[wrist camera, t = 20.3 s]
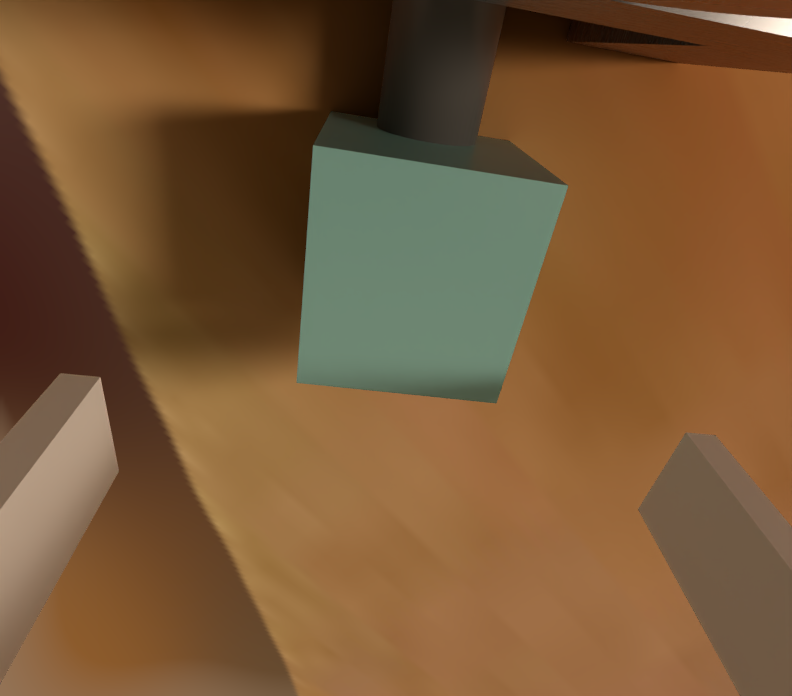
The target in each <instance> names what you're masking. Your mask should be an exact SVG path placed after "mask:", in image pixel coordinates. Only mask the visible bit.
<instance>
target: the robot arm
mask: <svg viewBox="0 0 792 696" xmlns="http://www.w3.org/2000/svg"><path fill="white" fill-rule="evenodd" d="M118 472H119V470H118V465H117V459H116V454H115V449H114V444H113V440H112V434H111V429H110V424H109V419H108V414H107V409H106V403H105V398H104V393H103V389H102V383H101V378H100V377H94V376H83V375H72V374H63V373H61V374H59V376H58V377H57V378H56V379H55V380H54V381H53V382H52V384H51V385H50V386H49V387H48V388H47V389H46V390H45V392H44V393H43V394H42V395H41V396H40V397H39V398H38V400H37V401H36V402H35V403H34V404H33V405H32V406H31V408H30V409H29V410H28V411H27V412H26V413H25V414H24V416H23V417H22V418H21V419H20V420H19V421H18V422H17V424H16V425H15V426H14V427H13V428H12V429H11V430H10V432H9V433H8V434H7V435H6V436H5V437H4V438H3V440H2V441H1V442H0V684H1V682H2V680H3V678H4V676H5V675H6V673H7V671H8V669H9V667H10V666H11V664H12V662H13V660H14V658H15V657H16V655H17V653H18V651H19V649H20V648H21V646H22V644H23V642H24V640H25V639H26V637H27V635H28V633H29V631H30V630H31V628H32V626H33V624H34V622H35V621H36V619H37V617H38V615H39V614H40V612H41V610H42V608H43V606H44V605H45V603H46V601H47V599H48V597H49V596H50V594H51V592H52V590H53V588H54V587H55V584H56V583H57V581H58V579H59V577H60V576H61V574H62V572H63V570H64V569H65V567H66V565H67V563H68V561H69V560H70V558H71V556H72V554H73V552H74V551H75V549H76V547H77V545H78V543H79V541H80V540H81V538H82V536H83V535H84V533H85V531H86V529H87V527H88V526H89V524H90V522H91V520H92V518H93V517H94V515H95V513H96V511H97V509H98V508H99V506H100V504H101V502H102V500H103V498H104V497H105V495H106V493H107V491H108V490H109V488H110V486H111V484H112V482H113V481H114V479H115V477H116V475H117V473H118ZM638 510H639V512H640V514H641V516H642V517H643V519H644V521H645V523H646V525H647V527H648V528H649V530H650V532H651V534H652V536H653V538H654V539H655V541H656V543H657V545H658V547H659V549H660V550H661V552H662V554H663V556H664V558H665V559H666V561H667V563H668V565H669V567H670V569H671V570H672V572H673V574H674V576H675V578H676V580H677V581H678V583H679V585H680V587H681V589H682V591H683V592H684V594H685V596H686V598H687V600H688V601H689V603H690V605H691V607H692V609H693V611H694V612H695V614H696V616H697V618H698V620H699V622H700V623H701V625H702V627H703V629H704V631H705V633H706V634H707V636H708V638H709V640H710V642H711V643H712V645H713V647H714V649H715V651H716V653H717V654H718V656H719V658H720V660H721V662H722V664H723V665H724V667H725V669H726V671H727V673H728V675H729V676H730V678H731V680H732V682H733V684H734V685H735V687H736V689H737V691H738V693H739V695H740V696H792V527H791V526H790V524H789V523H788V522H787V521H786V520H785V518H784V517H783V516H782V515H781V514H780V512H779V511H778V510H777V509H776V508H775V506H774V505H773V504H772V503H771V502H770V500H769V499H768V498H767V497H766V496H765V494H764V493H763V492H762V491H761V490H760V488H759V487H758V486H757V485H756V484H755V482H754V481H753V480H752V479H751V478H750V476H749V475H748V474H747V473H746V472H745V470H744V469H743V468H742V467H741V466H740V464H739V463H738V462H737V461H736V460H735V458H734V457H733V456H732V455H731V453H730V452H729V451H728V450H727V449H726V447H725V446H724V445H723V444H722V443H721V441H720V440H719V439H718V438H717V437H716V435H706V434H696V433H685V435H684V437H683V438H682V440H681V441H680V443H679V445H678V446H677V448H676V449H675V451H674V453H673V454H672V456H671V457H670V459H669V461H668V462H667V464H666V465H665V467H664V469H663V470H662V472H661V473H660V475H659V477H658V478H657V480H656V481H655V483H654V485H653V486H652V488H651V489H650V491H649V493H648V494H647V496H646V497H645V499H644V501H643V502H642V504H641V505H640V507H639V509H638Z"/></svg>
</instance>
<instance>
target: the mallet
mask: <svg viewBox="0 0 792 696" xmlns="http://www.w3.org/2000/svg"><path fill="white" fill-rule="evenodd" d="M506 7H507V6H503V5H498V4H493V3H488V2H482V1H477V0H393V3H392V11H391V19H390V27H389V35H388V42H387V50H386V58H385V66H384V73H383V81H382V89H381V97H380V104H379V112H378V119H376V118H370V117H364V116H358V115H352V114H346V113H340V112H334V111H331V112H330V114H329V116H328V118H327V120H326V122H325V124H324V126H323V127H322V129H321V131H320V133H319V135H318V137H317V139H316V141H315V143H314V144H313V154H312V169H311V183H310V197H309V212H308V226H307V241H306V255H305V269H304V284H303V298H302V313H301V327H300V342H299V356H298V370H297V383H304V384H314V385H324V386H333V387H343V388H353V389H363V390H372V391H382V392H392V393H401V394H411V395H421V396H431V397H440V398H450V399H460V400H470V401H479V402H489V403H497V400H498V397H499V394H500V391H501V388H502V385H503V382H504V378H505V375H506V372H507V369H508V366H509V363H510V360H511V357H512V354H513V351H514V348H515V345H516V342H517V339H518V336H519V333H520V330H521V327H522V324H523V321H524V318H525V315H526V312H527V309H528V306H529V303H530V300H531V297H532V294H533V291H534V288H535V285H536V282H537V279H538V276H539V273H540V270H541V267H542V264H543V261H544V258H545V255H546V252H547V248H548V245H549V242H550V239H551V236H552V233H553V230H554V227H555V224H556V221H557V218H558V215H559V212H560V209H561V206H562V203H563V200H564V197H565V194H566V191H567V188H568V185H567V184H565V183H564V182H563V181H561V180H560V179H559V178H557V177H556V176H555V175H553V174H552V173H551V172H550V171H548V170H547V169H546V168H544V167H543V166H542V165H540V164H539V163H538V162H536V161H535V160H534V159H532V158H531V157H530V156H528V155H527V154H526V153H524V152H523V151H522V150H521V149H519V148H518V147H517V146H515V145H514V144H513V143H511V142H510V141H507V140H501V139H495V138H489V137H483V136H477V135H478V131H479V126H480V122H481V118H482V113H483V109H484V104H485V100H486V96H487V91H488V87H489V82H490V78H491V74H492V69H493V65H494V60H495V56H496V52H497V47H498V43H499V38H500V34H501V29H502V25H503V21H504V16H505V12H506Z"/></svg>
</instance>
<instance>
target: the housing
mask: <svg viewBox="0 0 792 696" xmlns="http://www.w3.org/2000/svg"><path fill="white" fill-rule="evenodd" d="M477 1H482V2H488V3H493V4H498V5H503V6H508V7H513V8H518V9H523V10H528V11H533V12H538V13H543V14H548V15H553V16H558V17H563V18H568V19H572V22H571V26H570V29H569V33H568V36H567V40H566V42H572V43H577V44H582V45H587V46H592V47H598V48H603V49H608V50H613V51H619V52H624V53H629V54H634V55H639V56H645V57H650V58H655V59H660V60H666V61H671V62H676V63H683V64H694V65H705V66H716V67H727V68H738V69H749V70H760V71H771V72H782V73H792V0H477Z"/></svg>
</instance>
